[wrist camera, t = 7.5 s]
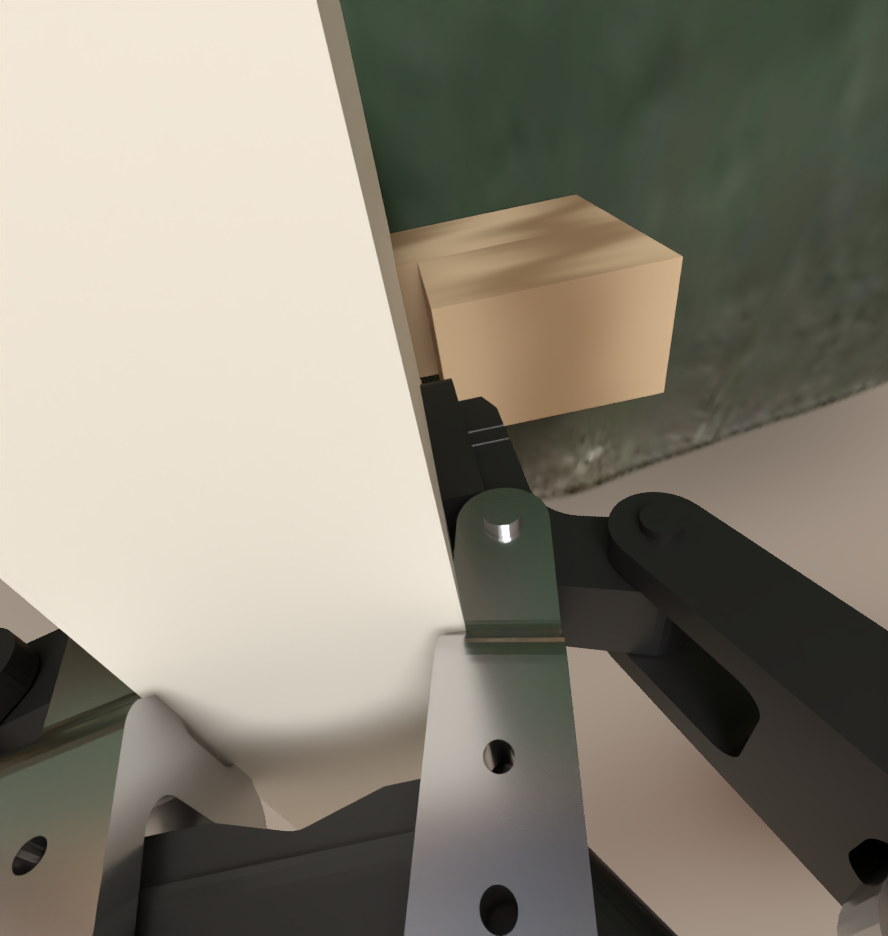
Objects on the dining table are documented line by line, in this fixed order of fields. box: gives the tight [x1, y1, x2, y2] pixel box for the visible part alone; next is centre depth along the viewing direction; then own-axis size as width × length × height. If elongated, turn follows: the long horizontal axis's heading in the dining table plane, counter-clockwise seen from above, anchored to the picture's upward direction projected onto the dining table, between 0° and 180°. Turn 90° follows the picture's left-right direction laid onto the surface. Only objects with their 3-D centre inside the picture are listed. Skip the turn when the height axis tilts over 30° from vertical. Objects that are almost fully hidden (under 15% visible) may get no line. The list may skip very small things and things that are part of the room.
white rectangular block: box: [0, 0, 466, 830], centre depth 11 cm, size 14×4×12 cm, turn 10°
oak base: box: [390, 195, 683, 426], centre depth 15 cm, size 16×4×7 cm, turn 100°
